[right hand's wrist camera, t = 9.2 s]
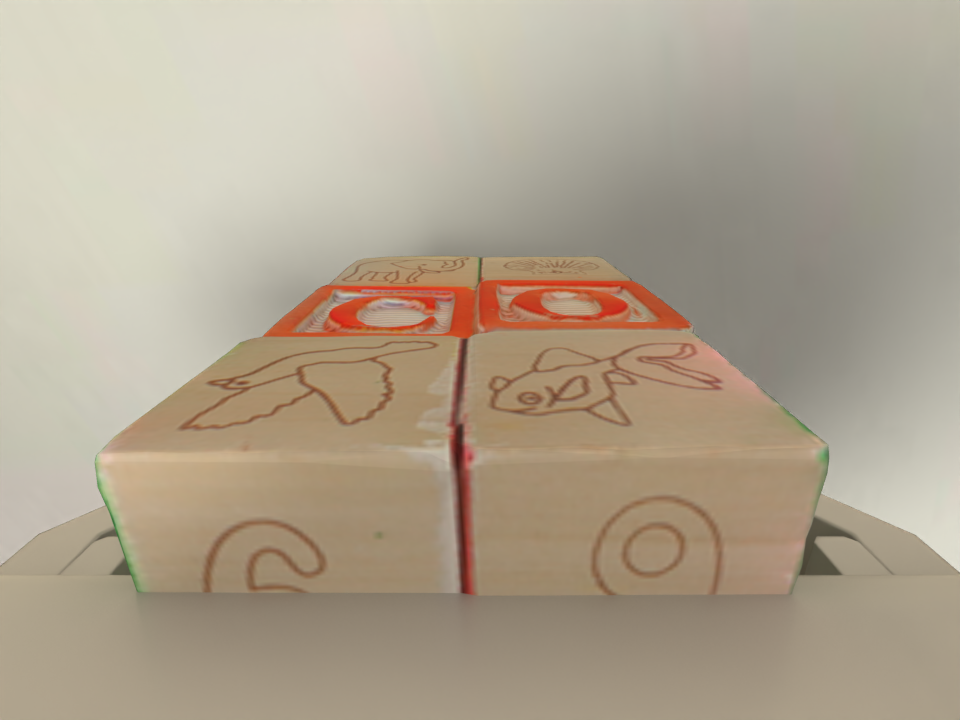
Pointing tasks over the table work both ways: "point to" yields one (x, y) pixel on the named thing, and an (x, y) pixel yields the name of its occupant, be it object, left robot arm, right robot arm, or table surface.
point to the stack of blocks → (468, 447)
